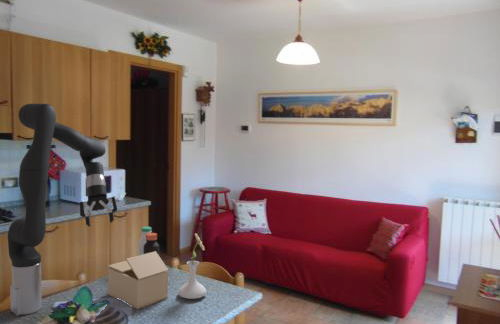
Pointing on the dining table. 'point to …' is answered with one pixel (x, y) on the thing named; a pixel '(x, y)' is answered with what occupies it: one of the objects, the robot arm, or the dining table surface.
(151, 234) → the vinegar
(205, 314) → the dining table surface
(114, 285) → the carton
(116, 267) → the back flap
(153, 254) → the front flap
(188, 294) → the flower in vase
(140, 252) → the milk bottle
